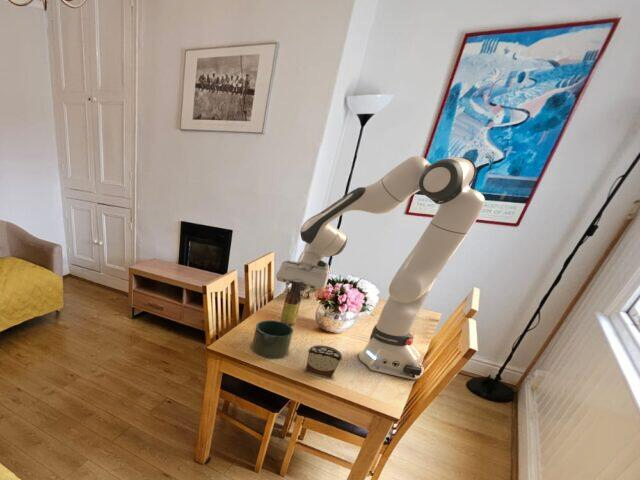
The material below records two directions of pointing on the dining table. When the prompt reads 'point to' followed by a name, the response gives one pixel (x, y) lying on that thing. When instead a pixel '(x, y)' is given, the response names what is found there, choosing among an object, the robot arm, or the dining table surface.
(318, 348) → the food container
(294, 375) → the dining table surface
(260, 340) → the bottle cooler
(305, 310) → the dining table surface
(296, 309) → the sauce bottle
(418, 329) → the dining table surface
